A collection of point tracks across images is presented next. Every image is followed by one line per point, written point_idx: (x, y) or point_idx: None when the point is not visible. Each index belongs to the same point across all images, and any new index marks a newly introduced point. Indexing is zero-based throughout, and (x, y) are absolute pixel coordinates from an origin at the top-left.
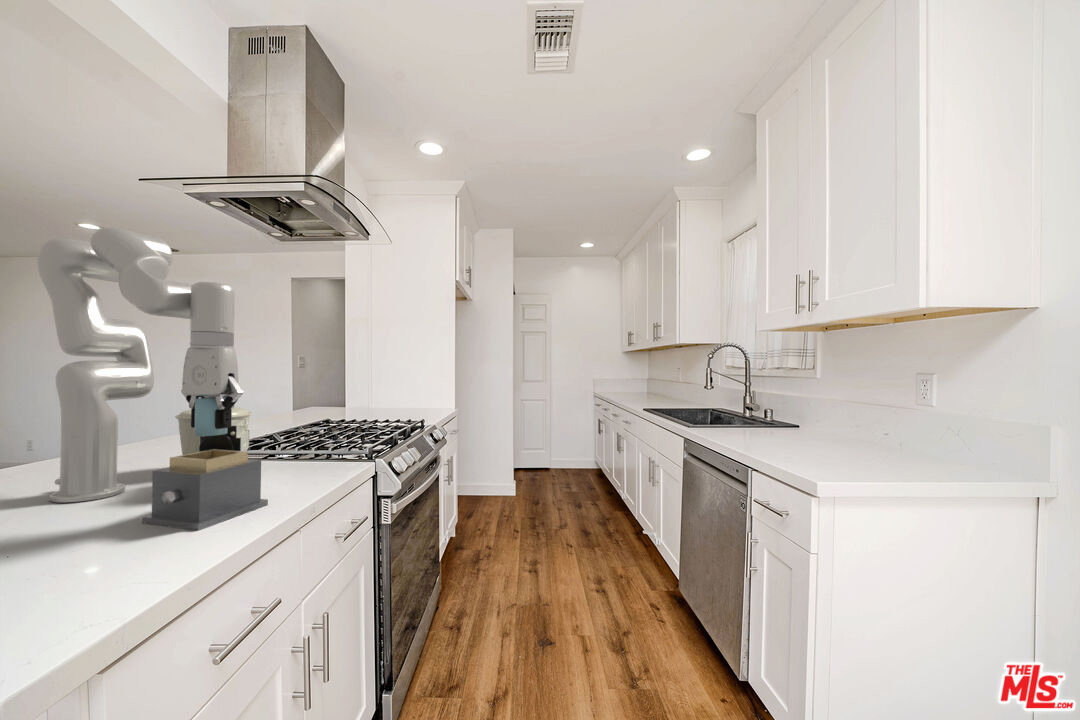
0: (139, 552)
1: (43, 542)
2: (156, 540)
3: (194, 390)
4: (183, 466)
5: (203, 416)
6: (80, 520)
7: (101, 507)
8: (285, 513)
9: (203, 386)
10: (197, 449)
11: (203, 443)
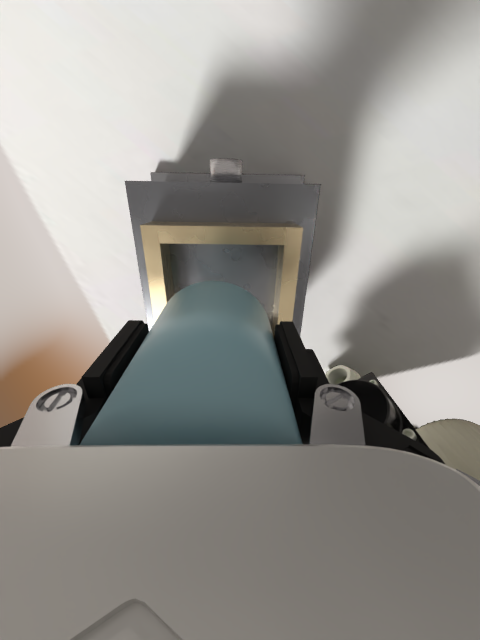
0: (136, 23)
1: (399, 3)
2: (175, 99)
3: (247, 492)
4: (240, 223)
5: (170, 324)
6: (444, 151)
7: (470, 229)
8: (99, 296)
9: (19, 581)
10: (478, 456)
11: (381, 406)
